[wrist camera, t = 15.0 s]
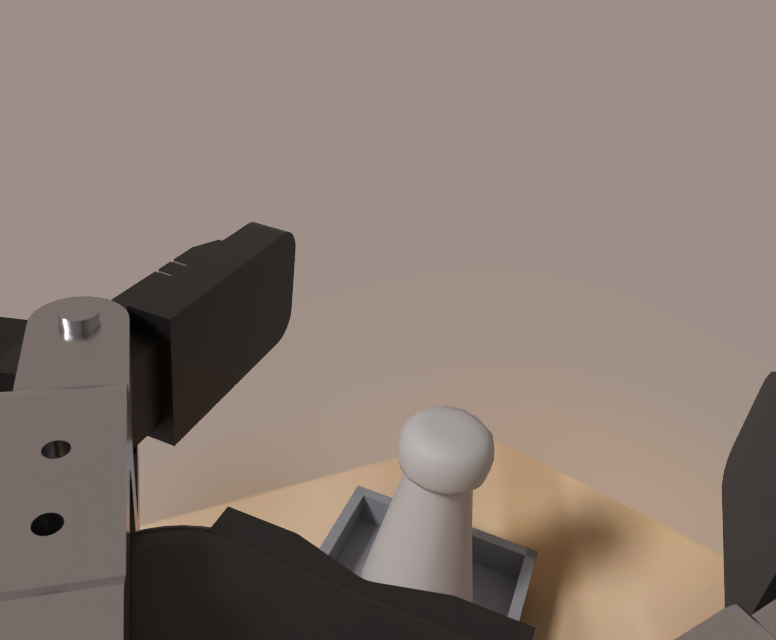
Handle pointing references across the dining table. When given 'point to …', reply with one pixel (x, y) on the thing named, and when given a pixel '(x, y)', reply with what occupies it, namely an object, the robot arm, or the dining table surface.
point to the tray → (489, 554)
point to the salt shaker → (433, 504)
